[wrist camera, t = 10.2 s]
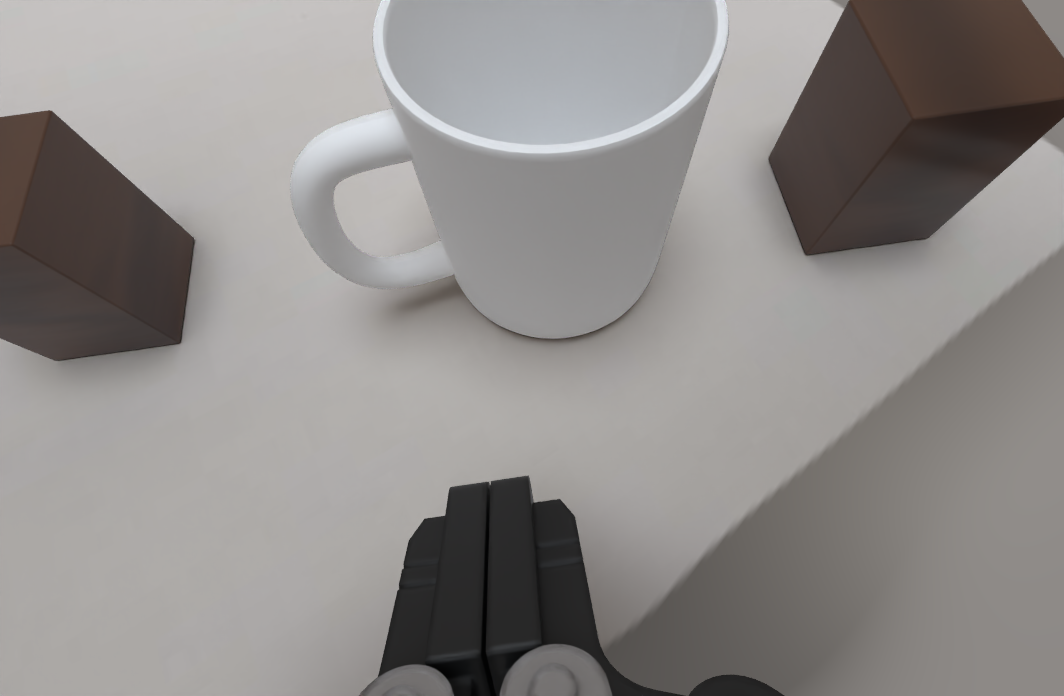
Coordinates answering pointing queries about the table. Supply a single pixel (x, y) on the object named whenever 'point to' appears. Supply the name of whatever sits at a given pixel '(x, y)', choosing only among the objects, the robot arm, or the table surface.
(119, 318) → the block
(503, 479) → the robot arm
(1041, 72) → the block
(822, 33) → the table surface
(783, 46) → the table surface
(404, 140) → the cup
